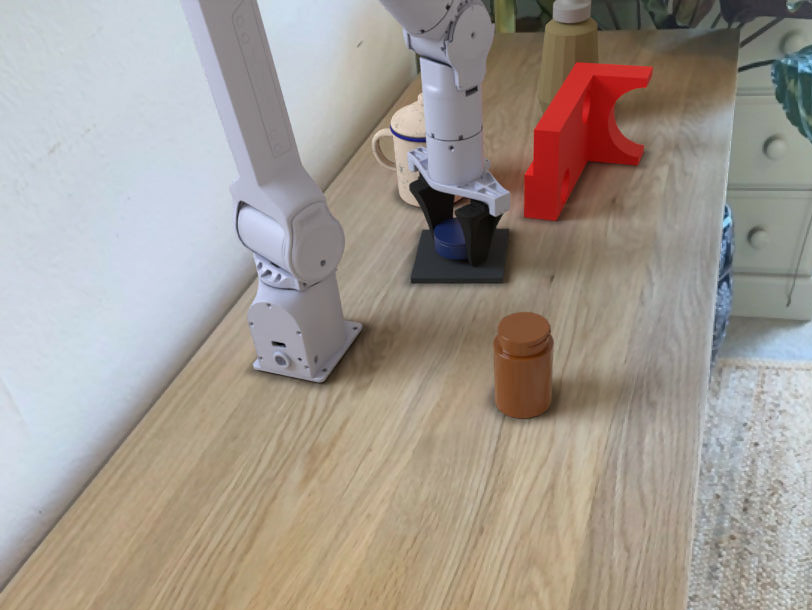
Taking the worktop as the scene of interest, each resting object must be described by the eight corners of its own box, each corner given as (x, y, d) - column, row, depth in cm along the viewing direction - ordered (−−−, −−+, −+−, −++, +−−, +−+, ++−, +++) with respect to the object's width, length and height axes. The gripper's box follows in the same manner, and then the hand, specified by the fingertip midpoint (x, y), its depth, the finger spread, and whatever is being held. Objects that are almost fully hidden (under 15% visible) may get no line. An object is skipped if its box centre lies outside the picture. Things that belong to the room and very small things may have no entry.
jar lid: (482, 228, 96) (482, 213, 95) (491, 255, 92) (491, 239, 91) (431, 235, 96) (430, 220, 95) (438, 263, 92) (437, 247, 91)
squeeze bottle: (525, 118, 117) (527, -33, 103) (576, 102, 119) (584, -48, 105) (556, 140, 112) (562, -16, 98) (609, 123, 113) (622, -32, 100)
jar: (545, 422, 76) (548, 348, 70) (489, 414, 78) (486, 342, 72) (556, 384, 80) (559, 311, 74) (501, 378, 81) (500, 306, 75)
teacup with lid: (479, 176, 107) (476, 79, 98) (458, 213, 102) (452, 113, 93) (390, 169, 111) (379, 74, 102) (364, 204, 105) (351, 107, 96)
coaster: (502, 282, 91) (502, 278, 91) (410, 283, 93) (410, 278, 92) (508, 233, 98) (508, 228, 97) (422, 234, 99) (422, 229, 99)
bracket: (568, 61, 103) (653, 66, 100) (564, 146, 110) (643, 153, 107) (524, 129, 92) (618, 136, 89) (524, 217, 100) (610, 227, 97)
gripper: (534, 136, 82) (532, 262, 92) (440, 94, 90) (448, 214, 100) (477, 162, 79) (481, 289, 90) (386, 117, 88) (399, 237, 98)
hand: (460, 251), depth 95 cm, fingers closed on jar lid, 5 cm apart
